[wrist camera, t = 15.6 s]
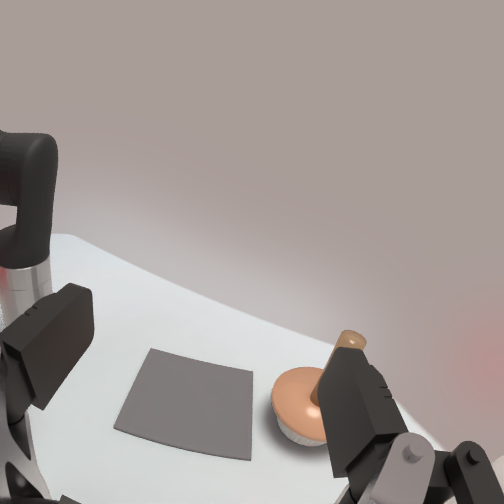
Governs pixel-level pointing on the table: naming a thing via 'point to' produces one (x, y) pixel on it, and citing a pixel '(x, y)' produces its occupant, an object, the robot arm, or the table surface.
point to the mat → (190, 406)
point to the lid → (306, 393)
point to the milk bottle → (500, 466)
